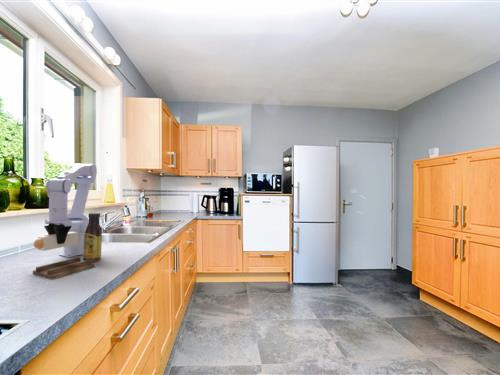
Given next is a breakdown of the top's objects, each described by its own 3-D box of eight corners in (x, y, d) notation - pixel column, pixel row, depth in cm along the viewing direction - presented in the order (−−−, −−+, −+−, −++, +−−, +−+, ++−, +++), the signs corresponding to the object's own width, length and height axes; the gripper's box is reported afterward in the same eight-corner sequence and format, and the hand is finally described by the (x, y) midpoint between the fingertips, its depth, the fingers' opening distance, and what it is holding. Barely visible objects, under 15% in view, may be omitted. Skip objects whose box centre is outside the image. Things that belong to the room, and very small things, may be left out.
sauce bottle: (79, 261, 97) (80, 213, 97) (94, 257, 103) (95, 212, 103) (90, 263, 94) (91, 214, 95) (105, 259, 100) (105, 212, 100)
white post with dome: (72, 243, 101) (72, 231, 101) (77, 244, 99) (78, 232, 99) (31, 250, 88) (31, 237, 88) (37, 252, 86) (37, 238, 86)
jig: (75, 262, 96) (75, 256, 96) (94, 266, 91) (95, 260, 91) (32, 273, 83) (32, 266, 83) (52, 279, 78) (52, 271, 78)
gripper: (36, 208, 94) (35, 243, 93) (57, 210, 88) (56, 247, 88) (56, 207, 100) (55, 239, 100) (77, 209, 94) (77, 243, 94)
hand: (57, 243), depth 94 cm, fingers closed on white post with dome, 4 cm apart
